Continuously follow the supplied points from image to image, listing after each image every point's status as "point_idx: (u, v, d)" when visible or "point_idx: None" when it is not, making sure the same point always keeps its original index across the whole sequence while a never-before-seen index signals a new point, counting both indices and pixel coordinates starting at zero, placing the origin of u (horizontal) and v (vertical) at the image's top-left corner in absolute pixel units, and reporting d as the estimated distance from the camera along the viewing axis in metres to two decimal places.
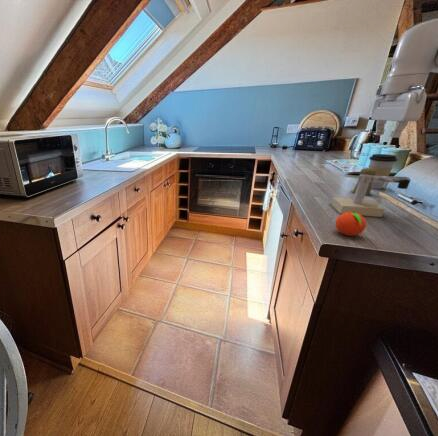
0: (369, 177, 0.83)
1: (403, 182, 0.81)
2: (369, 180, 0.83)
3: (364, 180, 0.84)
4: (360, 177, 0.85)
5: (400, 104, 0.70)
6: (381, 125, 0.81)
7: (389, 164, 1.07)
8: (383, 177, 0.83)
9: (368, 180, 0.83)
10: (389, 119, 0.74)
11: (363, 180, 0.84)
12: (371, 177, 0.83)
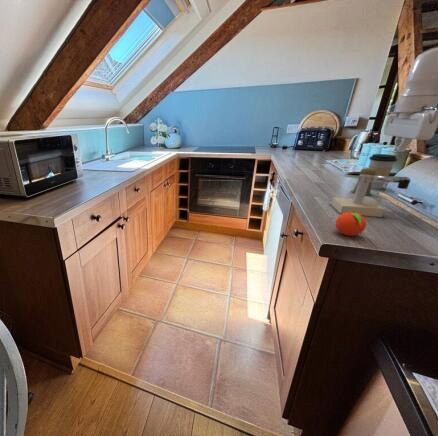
0: (369, 177, 0.83)
1: (403, 182, 0.81)
2: (369, 180, 0.83)
3: (364, 180, 0.84)
4: (360, 177, 0.85)
5: (414, 123, 0.75)
6: (400, 141, 0.82)
7: (389, 164, 1.07)
8: (383, 177, 0.83)
9: (368, 180, 0.83)
10: (402, 136, 0.79)
11: (363, 180, 0.84)
12: (371, 177, 0.83)
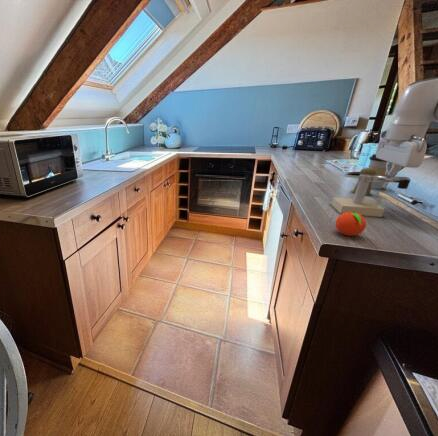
0: (369, 177, 0.83)
1: (403, 182, 0.81)
2: (369, 180, 0.83)
3: (364, 180, 0.84)
4: (360, 177, 0.85)
5: (403, 151, 0.78)
6: (391, 166, 0.86)
7: None
8: (383, 177, 0.83)
9: (368, 180, 0.83)
10: (392, 162, 0.82)
11: (363, 180, 0.84)
12: (371, 177, 0.83)
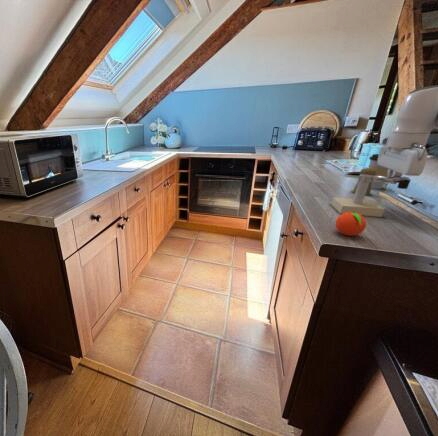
0: (369, 177, 0.83)
1: (403, 182, 0.81)
2: (369, 180, 0.83)
3: (364, 180, 0.84)
4: (360, 177, 0.85)
5: (404, 159, 0.77)
6: (392, 173, 0.85)
7: None
8: (383, 177, 0.83)
9: (368, 180, 0.83)
10: (393, 169, 0.82)
11: (363, 180, 0.84)
12: (371, 177, 0.83)
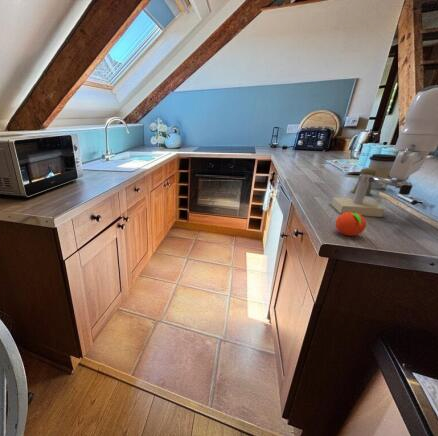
0: (364, 177, 0.84)
1: (401, 187, 0.76)
2: (364, 180, 0.84)
3: (359, 179, 0.85)
4: (359, 176, 0.86)
5: None
6: None
7: (389, 164, 1.07)
8: (381, 179, 0.80)
9: (363, 180, 0.84)
10: None
11: (359, 179, 0.85)
12: (367, 177, 0.83)
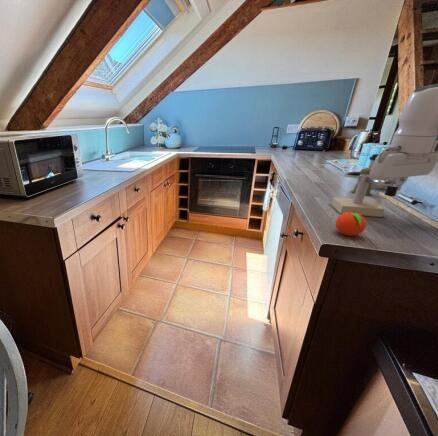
0: (361, 176, 0.84)
1: None
2: (361, 179, 0.84)
3: (358, 179, 0.86)
4: None
5: None
6: (400, 181, 0.76)
7: None
8: (374, 179, 0.80)
9: (360, 179, 0.85)
10: None
11: (358, 179, 0.86)
12: (364, 177, 0.84)
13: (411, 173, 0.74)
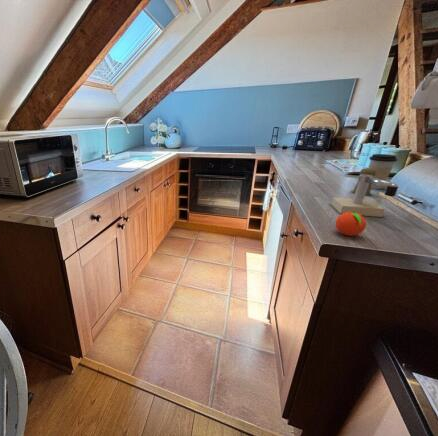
0: (361, 176, 0.84)
1: None
2: (361, 179, 0.84)
3: (358, 179, 0.86)
4: None
5: None
6: None
7: (389, 164, 1.07)
8: (374, 179, 0.80)
9: (360, 179, 0.85)
10: None
11: (358, 179, 0.86)
12: (364, 177, 0.84)
13: None
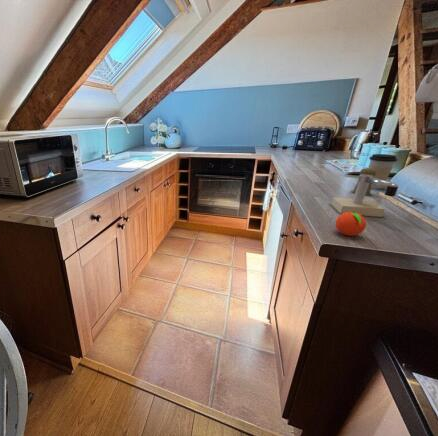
0: (361, 176, 0.84)
1: None
2: (361, 179, 0.84)
3: (358, 179, 0.86)
4: None
5: None
6: None
7: (389, 164, 1.07)
8: (374, 179, 0.80)
9: (360, 179, 0.85)
10: None
11: (358, 179, 0.86)
12: (364, 177, 0.84)
13: None
